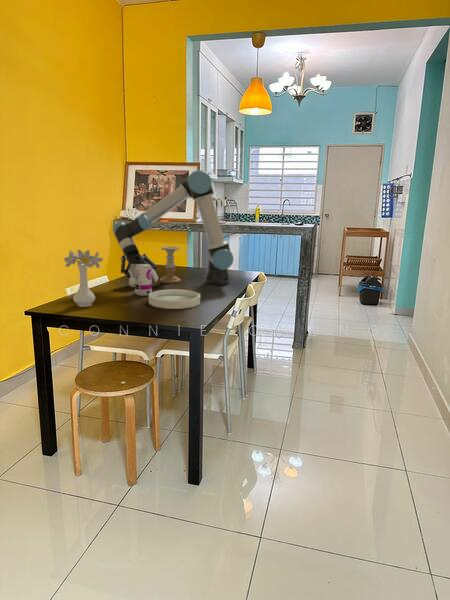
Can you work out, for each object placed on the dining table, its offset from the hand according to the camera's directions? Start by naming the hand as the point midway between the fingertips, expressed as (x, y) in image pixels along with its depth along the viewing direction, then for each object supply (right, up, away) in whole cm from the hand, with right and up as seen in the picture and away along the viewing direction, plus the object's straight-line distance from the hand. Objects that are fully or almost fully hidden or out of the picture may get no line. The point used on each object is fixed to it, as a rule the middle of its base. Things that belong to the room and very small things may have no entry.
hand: (145, 281), depth 207 cm
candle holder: (+8, +2, +37) cm, 38 cm away
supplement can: (-2, -6, +3) cm, 7 cm away
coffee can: (-9, -1, +23) cm, 25 cm away
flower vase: (-23, -12, -21) cm, 34 cm away
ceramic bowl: (+16, -10, -11) cm, 22 cm away
